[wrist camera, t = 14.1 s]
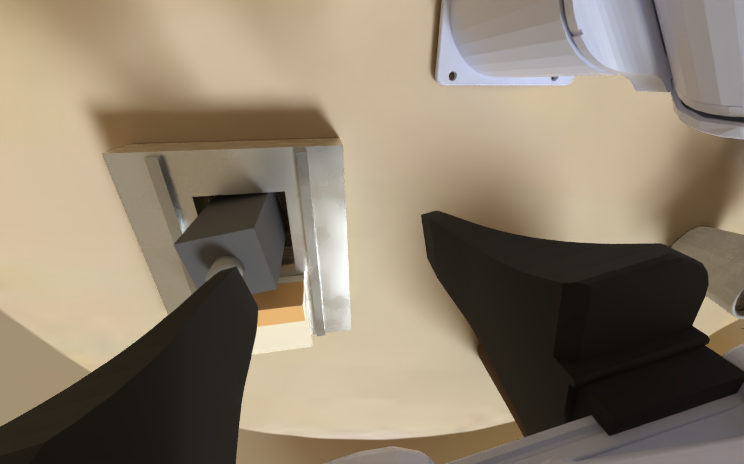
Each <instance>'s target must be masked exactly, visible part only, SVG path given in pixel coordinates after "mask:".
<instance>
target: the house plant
mask: <svg viewBox="0 0 744 464" xmlns="http://www.w3.org/2000/svg"><path fill="white" fill-rule="evenodd" d="M671 248H672V249H674V250H677V251H679V252H681V253H683V254H685V255H687V256H689V257H691V258H693V259H695V260H697V261H699V262H701V263H703V265H704V266H705V268H706V270H707V272H708V281H709V285H708V289H707V292H706V295H705V296H707V297H708V298H709V299H711V300H712V301H714V302H715V303H716V304H718V305H719V306H720V307H722V308H723V309H725V310H726V311H727V312H729V313H730V314H732V315H733V316H734V317H737V318H740V319H744V235H742V234H737V233H733V232H728V231H724V230H720V229H715V228H711V227H704V226H702V227H697V228H694V229H692V230H690V231H688V232H687V233H686V234H684V235H683V236H682V237H681V238H679V239H678V240H677V241H676V242H675V243H674V244H673V245H672V246H671Z"/></svg>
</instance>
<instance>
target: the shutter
mask: <svg viewBox="0 0 744 464" xmlns="http://www.w3.org/2000/svg"><path fill="white" fill-rule="evenodd" d="M252 296H253V298H254V300H255V301H256V303H257V305H258V323H257V332H256V337H255V342H254V346H253V351H252V355H254V354H261V353H268V352H275V351H283V350H290V349H297V348H304V347H311V346H312V332H311V324H310V316H309V308H308V300H307V292H306V285H305V277H304V275H296V276H286V277H279V279H278V285H277V289H274V290H269V291H265V292H260V293H256V294H252Z"/></svg>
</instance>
